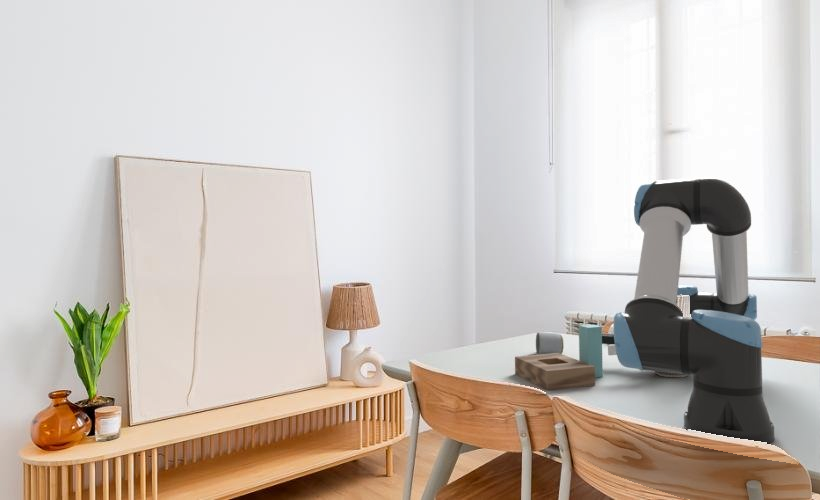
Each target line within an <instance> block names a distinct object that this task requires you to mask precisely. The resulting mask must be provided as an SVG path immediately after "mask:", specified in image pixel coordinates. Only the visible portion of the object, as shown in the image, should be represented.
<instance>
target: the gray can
mask: <svg viewBox="0 0 820 500" xmlns="http://www.w3.org/2000/svg"><path fill="white" fill-rule="evenodd" d="M535 336H536V337H535V351H536V355H540V354H551V353H559V354H562V355H563V352H564V338H563V336H562V334H560V333H557V332H556V333H555V332H540V331H538V332H537V333H536V335H535Z"/></svg>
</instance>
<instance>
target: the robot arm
mask: <svg viewBox="0 0 820 500" xmlns="http://www.w3.org/2000/svg"><path fill="white" fill-rule="evenodd" d="M633 215H634V221H635V224H636V225H637V226H639V228H640V229H641V231H642V232H643V234H644V235H643V240H642V246H641V253H640V259H639V265H638V271H637V279H636V286H635V290H634V299H632V300H629V302H627V303H626V305H625V307H624V312H621V311H620V312H617V313H616V314H614V317H613V324H614V334H608V333H602V345H607V354H608V356H616V357H617V360H618V362H619V363H620V365H621V366H622V367H624V368H629V369H635V370H636V369H637V370H639V371H650V372H651V371H652V372H653V371H654V372H661V373H671V374H680V375H689V376H692V380H693V381H692V383H693V385H692V386H693V387H692V392H691V395H690V398H689V401H688V405H687V409H686V410H685V412H684V414H683V427H684V428H685V427H686V428H685V430H687V429H691V430H696V431H701V432H705V433H711V434H716V435H723V436H727V437H734V438H740V439H748V440H754V441H761V442H767V443H768V444H770V442H771V441H772V442H774V440H775V426H774V424H773V422H772V420H771V418H770V415H769V412H768V407H767V405H766V403H765V400H764V396H763V393H764V392H763V362H762V361H763V360H762V359H763V358H762V348H764V347H763V346H764V344H763V341H762V331H761V330H762V328H761V325H760V324H759V323H758V321H756V319H757V317H758V301H757V300H758V299H757V295H755V294H754V293H752V294H751V293H749V273H748V272H749V270H748V268H749V267H748V237H747V235H748V234H747V232H748V231H749V230H750V228H751V226H752V214H751V210H750V207H749V205H748V202H747V200H746V198H745V197H744V196H743V195H742V193H741V192H740V191H739V190H738V189H736V188H735V187H734V186H733V185H732V184H731V183H728V182H727V181H725V180H723V179H720V178H717V177H711V176H702V177H694V178H693V177H692V178H679V179H663V180H660V179H657V180H654V181H647V182H643V183H642V184H641V185H640V186H639V187H638V188H637V191H636V194H635V198H634V206H633ZM692 225H706V228H707V230H708V232H710V234H711V241H712V251H713V264H714V276H715V277H714V279H715V290H716V292H700V291H699V289H698V287H697V286H695V285H684V284H683V285H680V284H679V282H680V281H679V280H680V271H681V262H682V261H681V260H682V250H683V242H684V241H683V238H684V236H686V235H687V234H688V233H689V232H690V231H691V227H692ZM677 294H682V295H689V296H690V314H691V317H683V313H682V311H681V309H680V308H679V307H678V306H677V305H676V303H677ZM772 442H771V443H772Z"/></svg>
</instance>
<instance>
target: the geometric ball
mask: <svg viewBox="0 0 820 500" xmlns="http://www.w3.org/2000/svg"><path fill="white" fill-rule="evenodd" d="M607 334H614V323H612V324H611V325H610V327H609V328H608V332H607Z"/></svg>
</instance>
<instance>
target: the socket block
mask: <svg viewBox="0 0 820 500" xmlns="http://www.w3.org/2000/svg"><path fill="white" fill-rule="evenodd" d="M514 374H515V375H516V376H519V377H521V378H522V379H524V380H527V381H528V382H530V383H532V384H534V385H536V386H538V387H540V388H541V389H544V390H546V391H556V390H564V389H573V388H582V387H583V388H584V387H592V386H596V377H595V366H592V365H590V364H587V363H584V362H581V361H579V359H575V358H573V357H570V356H568V355H564V354H563V353H562V354H559V353H551V354H540V355H537V354H529V355H517V356H514Z"/></svg>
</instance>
